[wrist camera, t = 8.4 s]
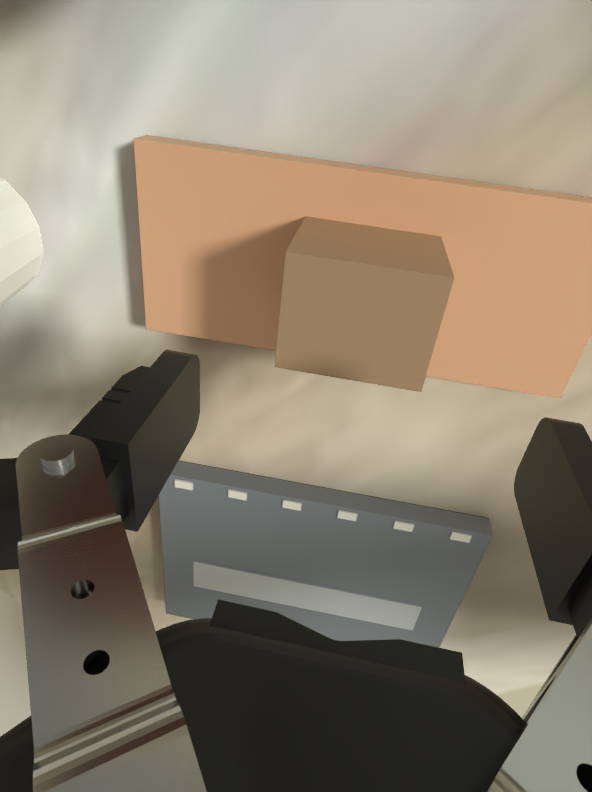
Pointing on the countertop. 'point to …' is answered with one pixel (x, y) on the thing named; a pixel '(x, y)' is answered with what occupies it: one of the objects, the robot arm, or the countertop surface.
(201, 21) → the countertop surface
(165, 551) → the board
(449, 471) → the countertop surface
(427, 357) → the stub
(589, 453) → the robot arm
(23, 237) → the shot glass
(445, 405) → the countertop surface
